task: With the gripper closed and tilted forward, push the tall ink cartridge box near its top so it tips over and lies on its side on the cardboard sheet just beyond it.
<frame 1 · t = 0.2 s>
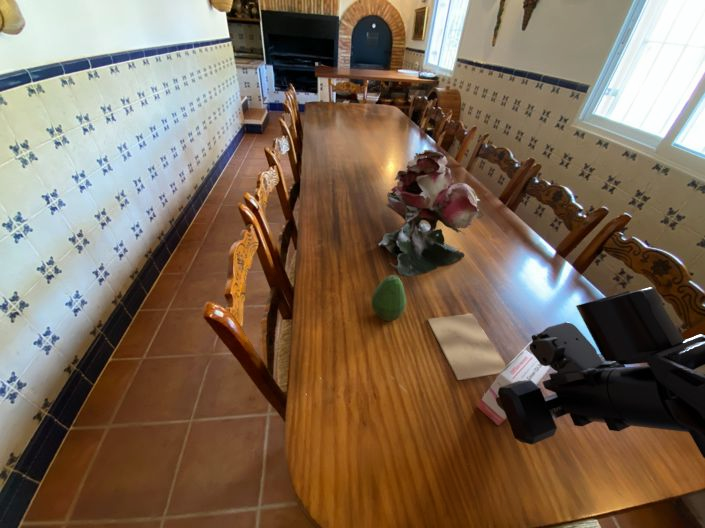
hand: (521, 392, 45), 13 cm above the table, tool tilted 30°, fingers open, 9 cm apart
avocado: (385, 315, 73), on the table
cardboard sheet: (465, 344, 67), on the table
ink cartridge box: (498, 403, 57), on the table
rose bouquet: (415, 245, 96), on the table
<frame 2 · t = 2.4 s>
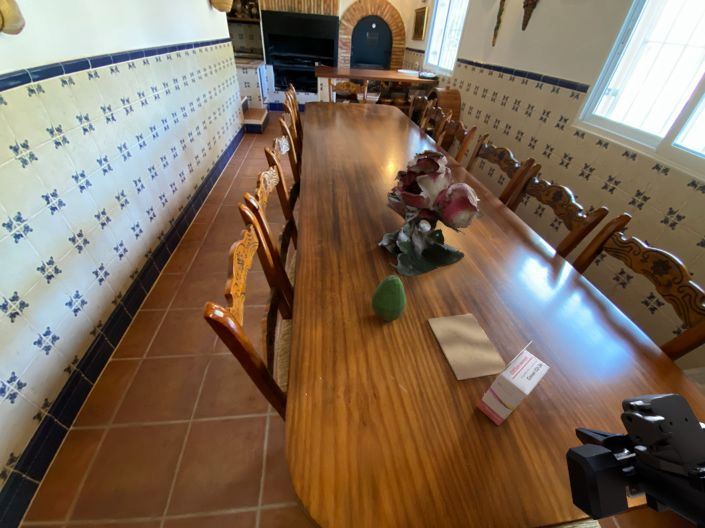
hand: (577, 431, 41), 13 cm above the table, tool tilted 45°, fingers closed
nothing on the table moved.
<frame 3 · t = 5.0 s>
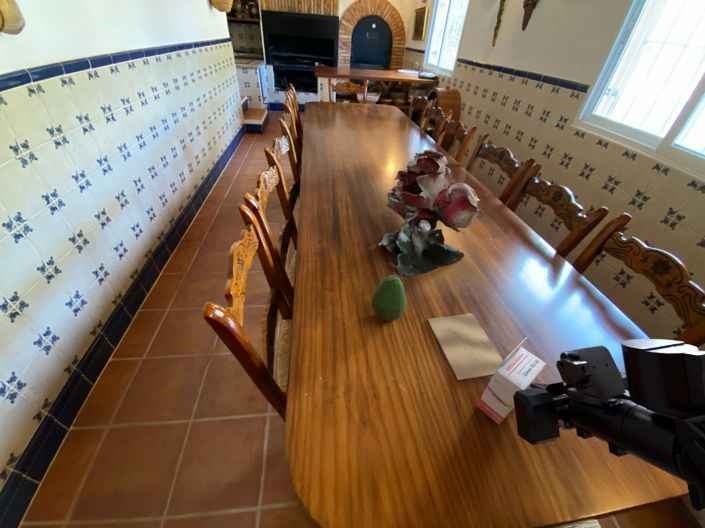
hand: (532, 386, 48), 11 cm above the table, tool tilted 45°, fingers closed
ink cartridge box: (498, 403, 57), on the table, touching gripper
everything else where it was.
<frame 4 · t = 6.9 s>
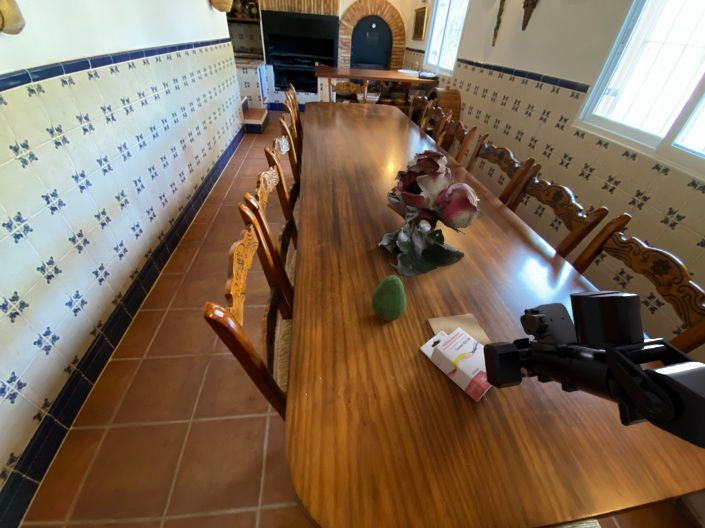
hand: (505, 347, 54), 11 cm above the table, tool tilted 45°, fingers closed
ink cartridge box: (494, 384, 57), point 3 cm above the table, touching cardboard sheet
everything else where it was.
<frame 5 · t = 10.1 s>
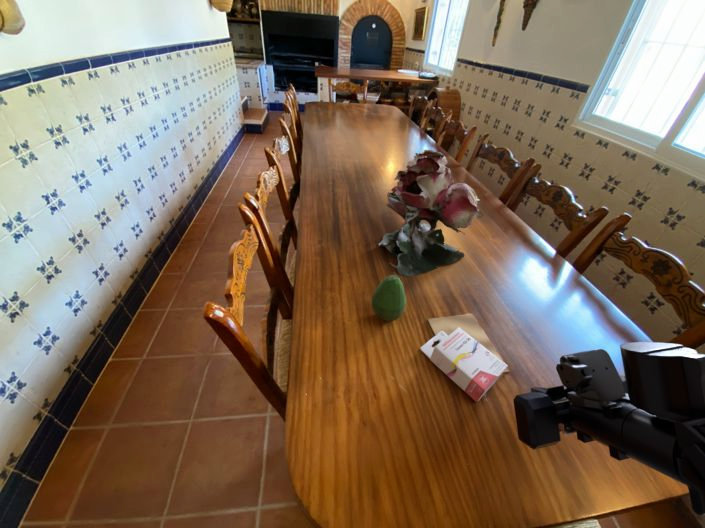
hand: (532, 390, 48), 10 cm above the table, tool tilted 45°, fingers closed
nothing on the table moved.
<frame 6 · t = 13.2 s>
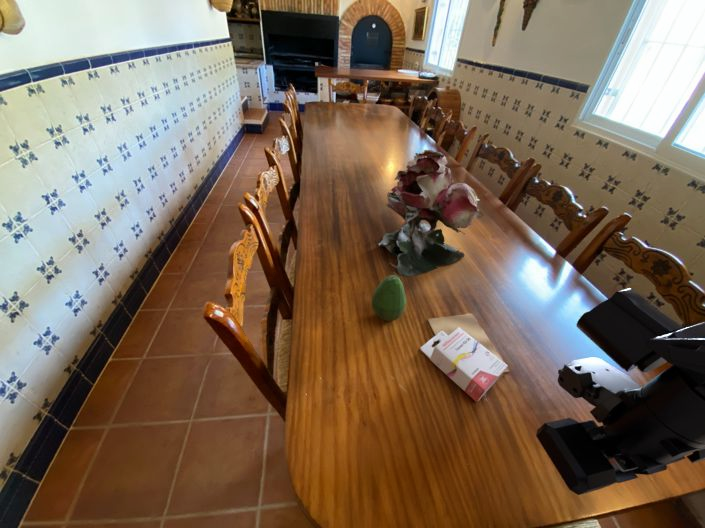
hand: (584, 465, 38), 13 cm above the table, tool pointing down, fingers closed
nothing on the table moved.
at the end: ink cartridge box tilted 90°; ink cartridge box 11.2 cm from the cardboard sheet (horizontally); rose bouquet moved 0.2 cm from its start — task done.
